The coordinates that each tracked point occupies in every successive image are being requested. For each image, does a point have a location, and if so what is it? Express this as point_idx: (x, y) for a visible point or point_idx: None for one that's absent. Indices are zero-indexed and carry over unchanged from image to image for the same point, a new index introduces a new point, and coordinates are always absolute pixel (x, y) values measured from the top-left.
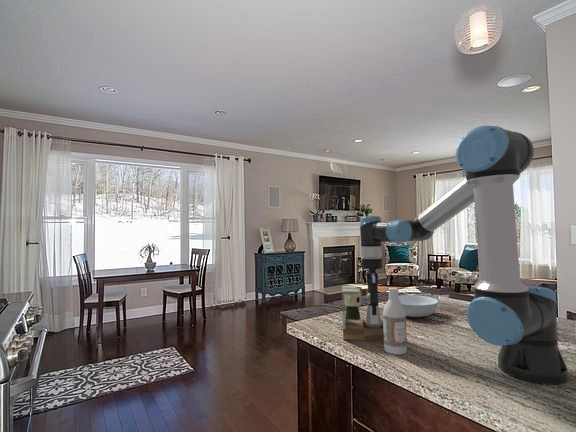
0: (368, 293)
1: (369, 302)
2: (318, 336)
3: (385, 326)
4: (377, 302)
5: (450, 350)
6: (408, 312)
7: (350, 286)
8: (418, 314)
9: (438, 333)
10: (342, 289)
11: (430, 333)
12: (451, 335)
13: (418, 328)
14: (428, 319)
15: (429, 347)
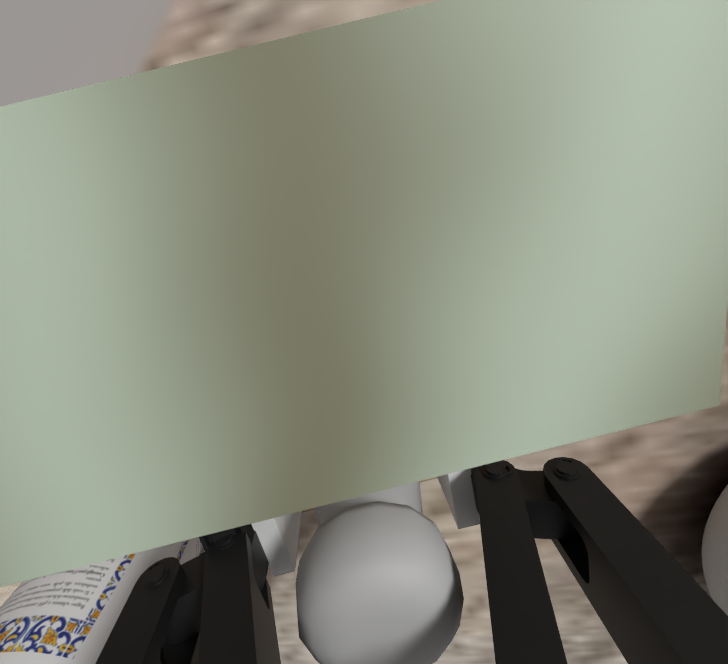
0: (372, 592)
1: (336, 504)
2: (194, 8)
3: (20, 585)
4: (161, 651)
5: (281, 651)
6: (718, 524)
7: (641, 267)
8: (702, 557)
9: (480, 609)
10: (23, 117)
11: (471, 585)
12: (465, 645)
13: (536, 541)
14: (692, 564)
15: (283, 595)
